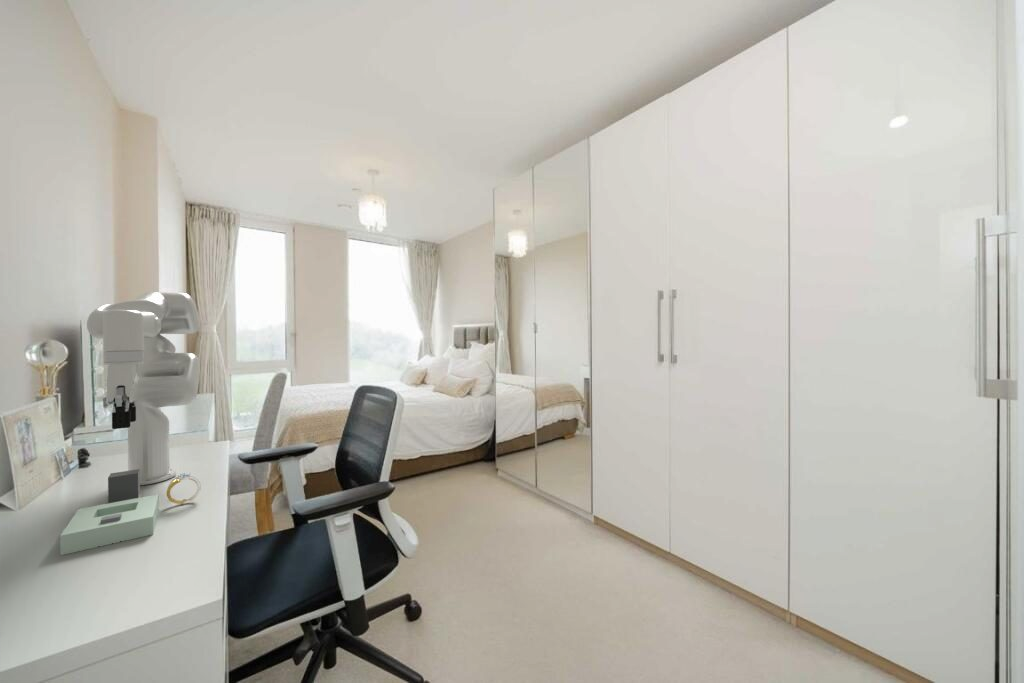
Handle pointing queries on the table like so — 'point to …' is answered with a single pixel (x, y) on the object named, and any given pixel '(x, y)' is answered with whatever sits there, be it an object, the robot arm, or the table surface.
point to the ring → (177, 480)
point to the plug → (124, 486)
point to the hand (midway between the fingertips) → (124, 425)
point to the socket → (110, 524)
